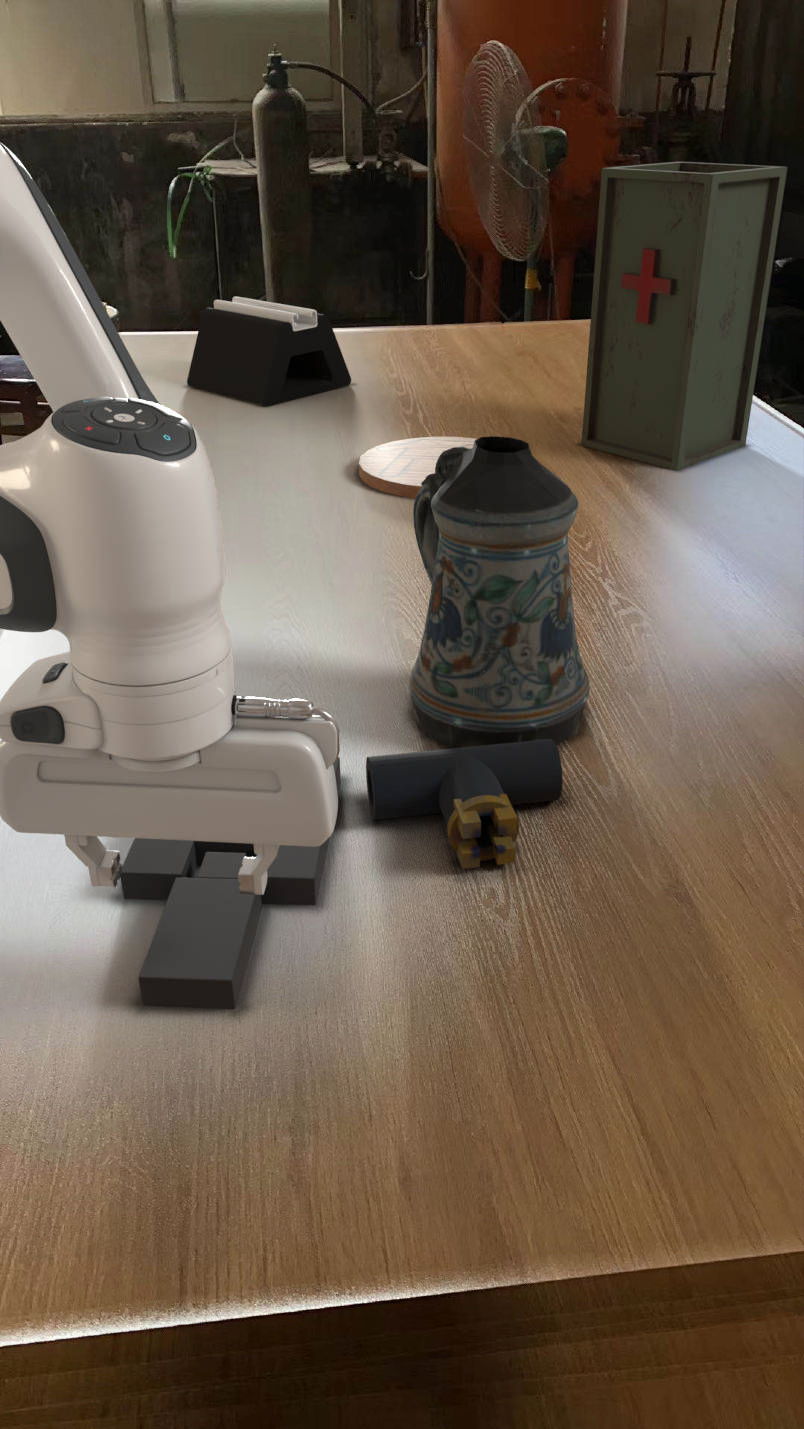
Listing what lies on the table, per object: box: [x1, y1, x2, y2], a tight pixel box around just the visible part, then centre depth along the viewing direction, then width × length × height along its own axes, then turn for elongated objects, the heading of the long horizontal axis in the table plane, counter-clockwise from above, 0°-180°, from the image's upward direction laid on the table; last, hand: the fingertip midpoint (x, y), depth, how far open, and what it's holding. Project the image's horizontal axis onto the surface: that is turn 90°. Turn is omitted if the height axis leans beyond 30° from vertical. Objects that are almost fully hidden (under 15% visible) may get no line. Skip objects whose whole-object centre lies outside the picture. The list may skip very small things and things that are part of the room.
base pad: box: [119, 756, 342, 906], centre depth 84 cm, size 14×16×2 cm
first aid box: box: [581, 161, 788, 471], centre depth 164 cm, size 18×18×40 cm
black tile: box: [138, 852, 263, 1010], centre depth 74 cm, size 6×13×2 cm, turn 177°
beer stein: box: [408, 435, 590, 749], centre depth 96 cm, size 16×19×25 cm
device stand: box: [186, 296, 352, 407], centre depth 208 cm, size 22×22×15 cm
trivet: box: [358, 436, 478, 499], centre depth 163 cm, size 25×25×2 cm
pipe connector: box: [365, 739, 563, 869], centre depth 84 cm, size 12×5×15 cm
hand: (180, 884), depth 69 cm, fingers open, 8 cm apart
